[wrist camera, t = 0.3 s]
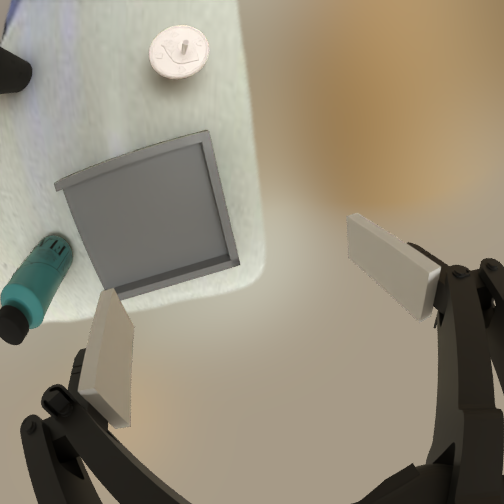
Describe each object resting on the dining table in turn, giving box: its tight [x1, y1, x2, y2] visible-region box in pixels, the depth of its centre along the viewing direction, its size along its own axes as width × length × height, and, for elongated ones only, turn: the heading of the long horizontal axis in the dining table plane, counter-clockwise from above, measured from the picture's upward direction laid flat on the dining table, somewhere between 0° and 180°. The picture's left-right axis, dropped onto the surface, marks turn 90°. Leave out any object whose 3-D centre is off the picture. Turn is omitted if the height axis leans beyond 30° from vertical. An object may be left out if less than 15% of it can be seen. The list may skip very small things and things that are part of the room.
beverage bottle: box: [0, 236, 73, 345], centre depth 29 cm, size 6×7×20 cm
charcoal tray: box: [54, 130, 240, 300], centre depth 39 cm, size 20×22×3 cm
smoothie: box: [149, 25, 209, 79], centre depth 26 cm, size 6×6×14 cm
